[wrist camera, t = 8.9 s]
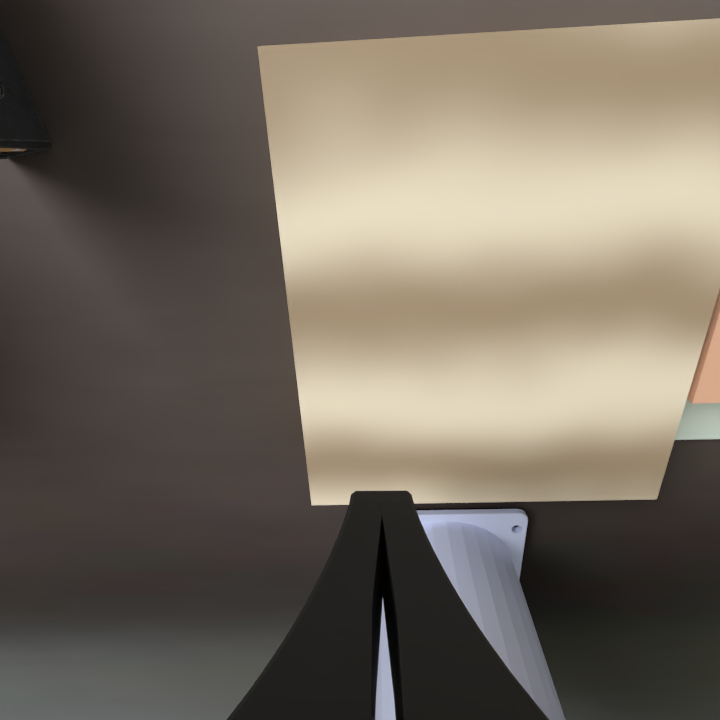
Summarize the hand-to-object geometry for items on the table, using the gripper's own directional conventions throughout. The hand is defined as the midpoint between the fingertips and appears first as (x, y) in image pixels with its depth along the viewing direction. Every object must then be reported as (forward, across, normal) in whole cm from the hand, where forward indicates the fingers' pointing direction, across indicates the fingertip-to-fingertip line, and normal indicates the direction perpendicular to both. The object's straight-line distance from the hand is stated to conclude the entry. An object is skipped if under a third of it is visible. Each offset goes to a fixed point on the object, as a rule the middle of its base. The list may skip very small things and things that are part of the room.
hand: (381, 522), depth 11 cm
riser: (+9, -4, -3) cm, 11 cm away
